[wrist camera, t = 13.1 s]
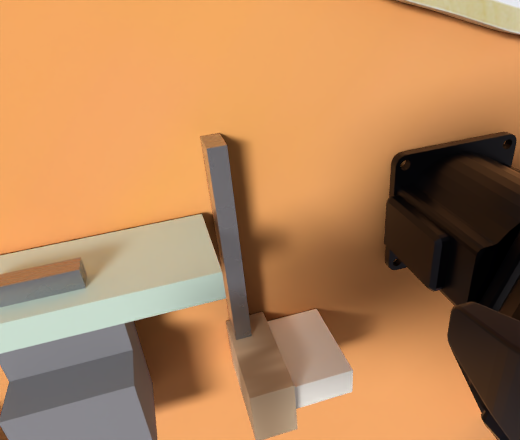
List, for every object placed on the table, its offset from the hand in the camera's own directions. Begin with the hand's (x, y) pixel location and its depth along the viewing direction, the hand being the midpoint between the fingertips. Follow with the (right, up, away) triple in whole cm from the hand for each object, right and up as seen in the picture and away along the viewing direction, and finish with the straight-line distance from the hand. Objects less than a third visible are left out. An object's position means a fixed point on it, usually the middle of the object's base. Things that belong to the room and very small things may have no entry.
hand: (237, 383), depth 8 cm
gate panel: (-9, +2, +11) cm, 14 cm away
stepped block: (-8, -3, +13) cm, 16 cm away
